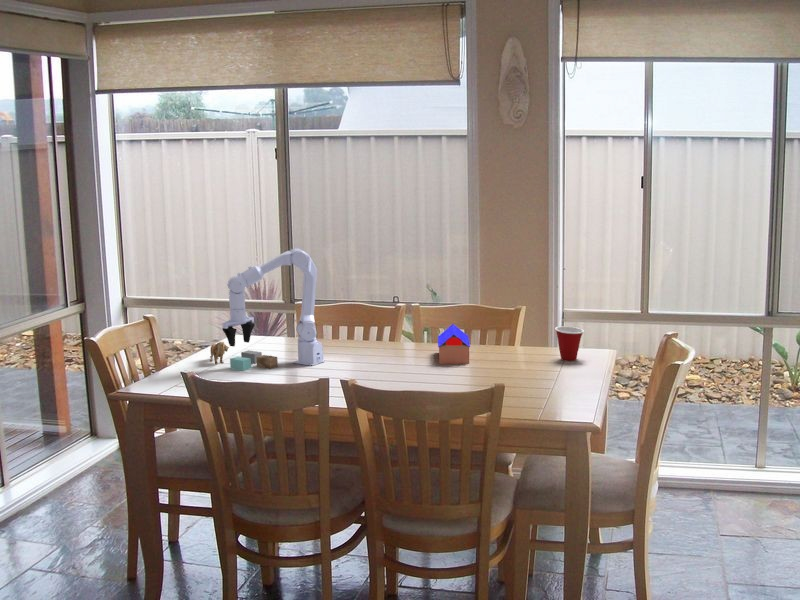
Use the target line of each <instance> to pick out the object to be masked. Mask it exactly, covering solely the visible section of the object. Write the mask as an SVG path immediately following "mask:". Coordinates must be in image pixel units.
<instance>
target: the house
mask: <svg viewBox="0 0 800 600" xmlns="http://www.w3.org/2000/svg"><path fill="white" fill-rule="evenodd" d="M469 339H470V338H469V336H468V335H467V334H466V333H465V332H464V331H463V330H461V329H460V328H459V327H457V326H456V324H454V323H452V324H451V325H450V326H449V327H447V329H445V330H444V331H443V332H442V333H440V335H438V337H437V345H438V346H437V348H438V356H439V357H438V359H439V361H438V363H439V365H457V364H458V365H461V364H466V365H467V364H470V347H471V345H470V340H469Z"/></svg>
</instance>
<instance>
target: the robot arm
mask: <svg viewBox="0 0 800 600" xmlns="http://www.w3.org/2000/svg"><path fill="white" fill-rule="evenodd" d="M292 265H294V266H295V267H297V268H298V269H299V270H300V271H301V272H302V273H303V282H302V283H303V284H302V294H301V295H302V296H301V311H300V316H299V321H298V323H297V325H296V333H297V334H298V337H297V339H296V340H297V341H296V343H297V360H294V361H293V364H298V365H306V366H311V365H312V366H316V365H318V364H322V363H325V361H326V360H324V346H323V343H322V342H321V341H318V340H317V337H316V336H317V329H316V326H315V325H316V323H315V303H316V290H317V278H318V269H317V266H316V265H315V263H314V261H313V260H312V258H311V256H310V255H309V253H307V252H306V251H304V250H302V249H301V248H298V247H294V248H293V247H292V248H291V249H290V250H287V251H284V252H282V253H281V254H279V255H277V256H275V257H274V258H271V260H269V261H267V262H265V263H264V264H262V265H261V266H257V265H253V266H252V265H250V266H248V269H246V270H243V272H242V271H241V272H238V273H237V274H236V275H237V276H236V275H234V276H231V277H230V278H229V279H228V281H227V287H228V289H229V292H228V295H229V297H228V299H229V303H228V304H229V315H230V317H229V318H230V319H229V320H227V321H225V322H222V323H221V325H222V332H223V333H224V335H225V337H226V338H227V341H228V342H227V343H228V344H229V347H236V333H237V328H235V327H237V326H240V327H241V330H242V337H243V338H242V339H243V342H244V343H250V340H251V336H252V332H253V329H254V327H255V323H254V322H255V320H254V319H255V318H254V316H246V315H247V314H246V300H245V299H246V297H245V289H246V288H249V287H251V286H252V285H254V284H256V283H258V282H259V281H261V280H263V279H264V275H265V274H267V273H269V272H271V271H274V270H276V269H277V268H280V267H281V266H292Z"/></svg>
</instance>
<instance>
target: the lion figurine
mask: <svg viewBox="0 0 800 600" xmlns="http://www.w3.org/2000/svg"><path fill="white" fill-rule="evenodd" d="M229 348H230V346H227V344H225V342H224V341H219V342H217V343H213V344H211V346H210V357H209V358H210V359H209V362H213V361H214V365H215V366H217V365H218V364H219V363H220V364H224V363H225V362H224V361H223V356H224V355H225V352H226V353H227V352H228V351H229ZM218 359H219V363H218Z"/></svg>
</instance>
